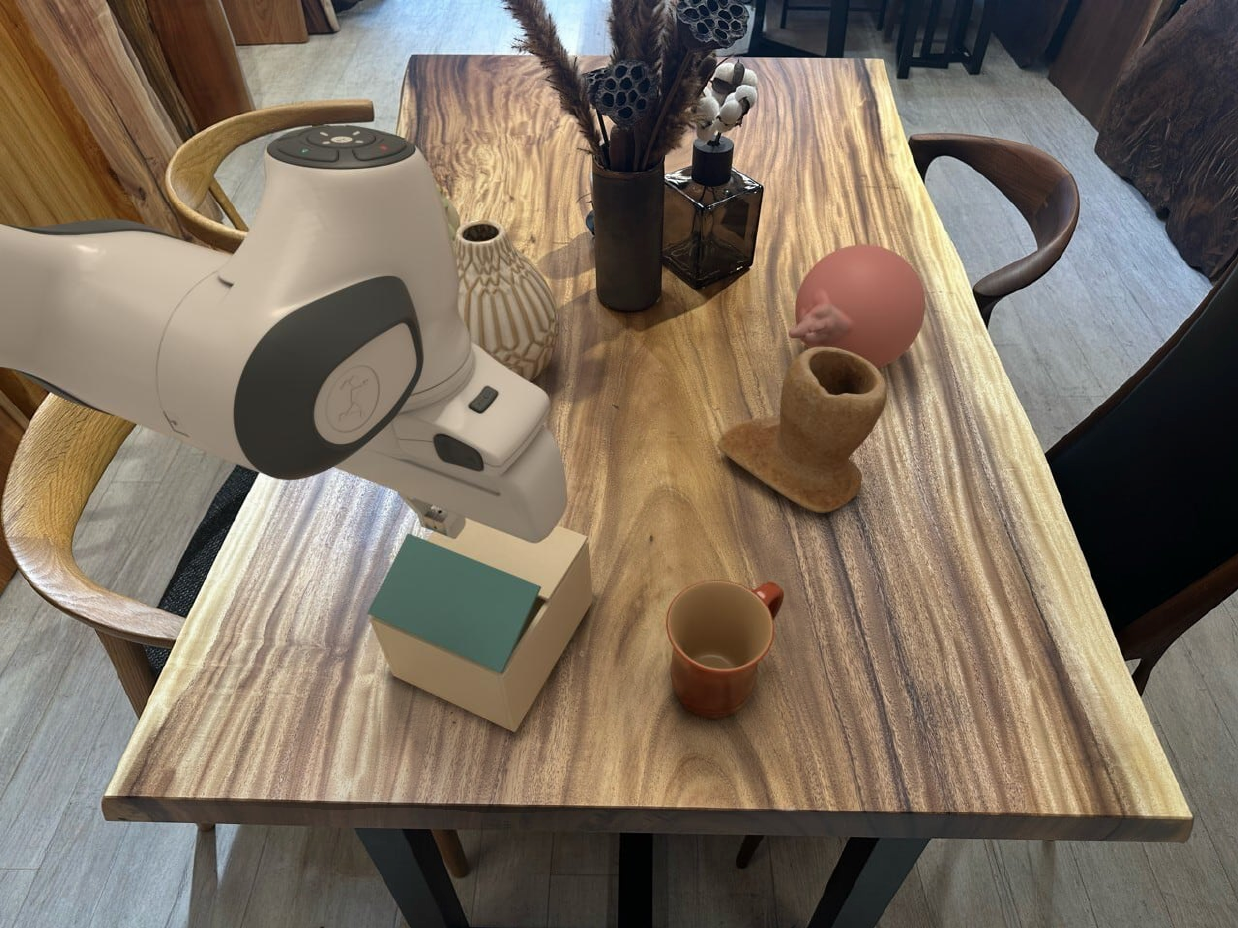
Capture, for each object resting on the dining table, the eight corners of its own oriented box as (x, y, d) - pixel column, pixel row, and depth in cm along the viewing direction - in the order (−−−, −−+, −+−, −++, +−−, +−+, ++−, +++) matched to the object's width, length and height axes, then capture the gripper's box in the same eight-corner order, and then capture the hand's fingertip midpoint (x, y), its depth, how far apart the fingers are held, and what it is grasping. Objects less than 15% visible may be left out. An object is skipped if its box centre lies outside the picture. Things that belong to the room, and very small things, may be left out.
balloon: (736, 361, 105) (748, 258, 94) (846, 309, 112) (869, 208, 101) (819, 428, 96) (844, 323, 85) (932, 367, 104) (969, 263, 92)
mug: (709, 751, 69) (719, 693, 61) (642, 680, 73) (644, 618, 66) (803, 670, 74) (823, 607, 66) (735, 608, 79) (746, 543, 71)
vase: (571, 402, 100) (560, 261, 85) (441, 419, 98) (408, 278, 83) (554, 326, 110) (542, 189, 96) (437, 340, 109) (407, 203, 94)
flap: (502, 673, 63) (500, 672, 62) (368, 614, 67) (366, 613, 66) (541, 586, 65) (540, 585, 65) (409, 534, 69) (407, 532, 68)
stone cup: (884, 477, 90) (919, 373, 80) (817, 533, 85) (845, 430, 74) (779, 410, 98) (798, 308, 87) (712, 457, 93) (723, 354, 82)
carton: (515, 732, 70) (501, 673, 62) (392, 675, 74) (366, 612, 66) (592, 601, 79) (588, 535, 72) (480, 556, 83) (465, 490, 76)
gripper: (244, 372, 52) (307, 511, 62) (520, 469, 45) (540, 606, 55) (310, 318, 56) (359, 457, 66) (572, 401, 49) (582, 541, 59)
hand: (444, 526), depth 60 cm, fingers closed
